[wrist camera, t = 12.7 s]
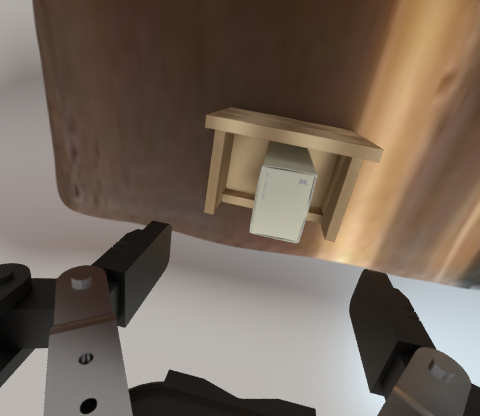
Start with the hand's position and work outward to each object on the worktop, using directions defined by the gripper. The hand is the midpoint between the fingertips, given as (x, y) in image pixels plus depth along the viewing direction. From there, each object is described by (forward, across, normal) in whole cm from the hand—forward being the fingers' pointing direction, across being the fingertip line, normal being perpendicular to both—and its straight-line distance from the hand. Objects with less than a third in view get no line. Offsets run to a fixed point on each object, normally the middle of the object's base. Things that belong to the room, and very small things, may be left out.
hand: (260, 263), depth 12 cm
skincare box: (+23, -1, +2) cm, 23 cm away
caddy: (+24, 0, +2) cm, 24 cm away
